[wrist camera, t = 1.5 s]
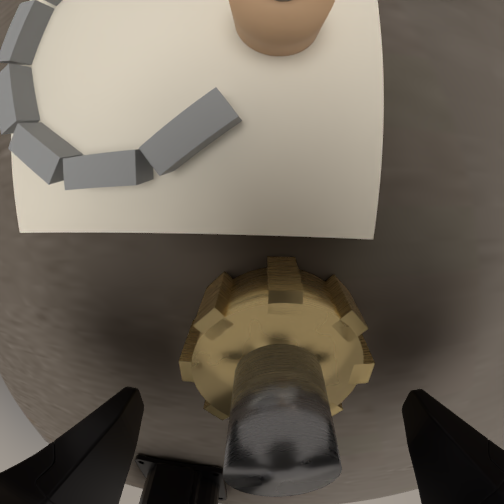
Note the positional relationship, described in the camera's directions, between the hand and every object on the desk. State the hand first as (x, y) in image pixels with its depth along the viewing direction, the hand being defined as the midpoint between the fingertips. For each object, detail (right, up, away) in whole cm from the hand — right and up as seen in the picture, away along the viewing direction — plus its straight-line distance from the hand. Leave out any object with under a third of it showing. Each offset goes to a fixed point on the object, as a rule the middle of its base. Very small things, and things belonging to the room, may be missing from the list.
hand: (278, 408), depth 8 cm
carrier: (-4, +12, 0) cm, 13 cm away
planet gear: (0, +2, +4) cm, 4 cm away
